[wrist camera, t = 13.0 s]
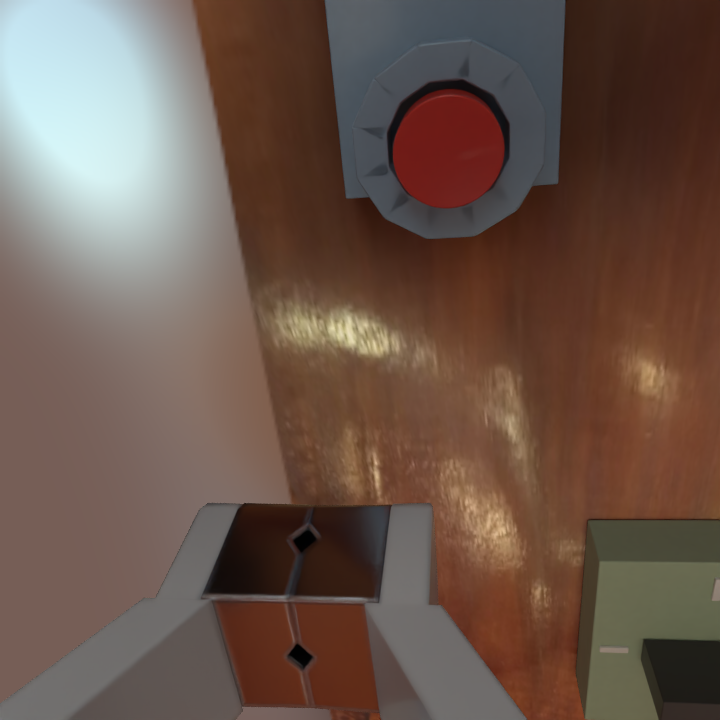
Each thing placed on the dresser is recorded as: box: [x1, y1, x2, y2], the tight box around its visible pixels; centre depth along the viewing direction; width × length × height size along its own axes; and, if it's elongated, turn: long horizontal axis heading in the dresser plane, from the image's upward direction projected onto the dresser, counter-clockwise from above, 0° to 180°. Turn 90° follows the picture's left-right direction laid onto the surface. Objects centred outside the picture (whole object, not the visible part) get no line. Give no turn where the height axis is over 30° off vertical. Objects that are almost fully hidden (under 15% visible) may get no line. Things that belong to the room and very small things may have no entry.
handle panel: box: [576, 520, 720, 720], centre depth 35 cm, size 12×11×3 cm
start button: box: [393, 89, 505, 208], centre depth 22 cm, size 4×4×2 cm
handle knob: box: [641, 640, 720, 720], centre depth 32 cm, size 6×2×4 cm, turn 96°
